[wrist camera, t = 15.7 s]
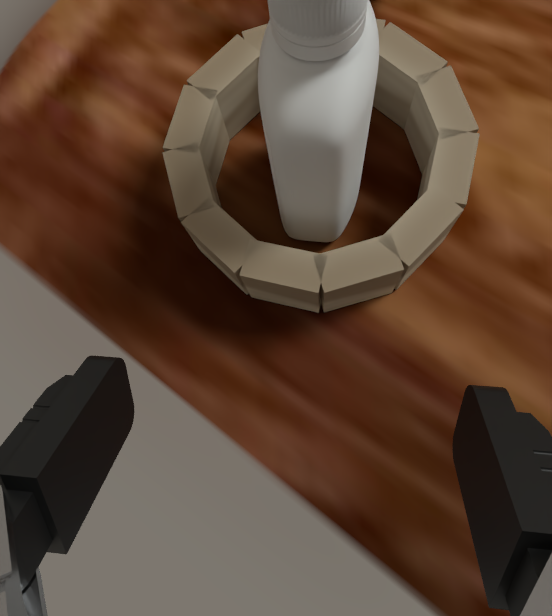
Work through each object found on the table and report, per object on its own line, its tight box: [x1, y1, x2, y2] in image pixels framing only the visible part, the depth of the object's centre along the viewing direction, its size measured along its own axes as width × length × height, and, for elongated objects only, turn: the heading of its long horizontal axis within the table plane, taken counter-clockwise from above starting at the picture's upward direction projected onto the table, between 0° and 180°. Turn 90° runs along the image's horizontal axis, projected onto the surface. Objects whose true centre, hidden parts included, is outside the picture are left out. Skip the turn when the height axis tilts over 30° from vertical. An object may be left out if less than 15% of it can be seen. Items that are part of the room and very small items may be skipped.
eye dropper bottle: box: [258, 0, 379, 242], centre depth 15 cm, size 4×6×12 cm
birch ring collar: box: [162, 19, 479, 313], centre depth 19 cm, size 11×11×3 cm
